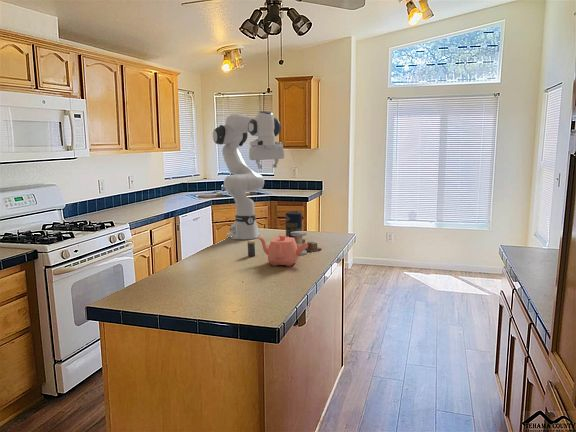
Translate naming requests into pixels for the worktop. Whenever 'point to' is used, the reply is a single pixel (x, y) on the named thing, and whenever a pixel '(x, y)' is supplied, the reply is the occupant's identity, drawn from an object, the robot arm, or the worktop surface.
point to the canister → (293, 222)
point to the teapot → (282, 250)
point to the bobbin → (299, 239)
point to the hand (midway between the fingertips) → (267, 168)
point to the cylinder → (251, 248)
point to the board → (311, 246)
